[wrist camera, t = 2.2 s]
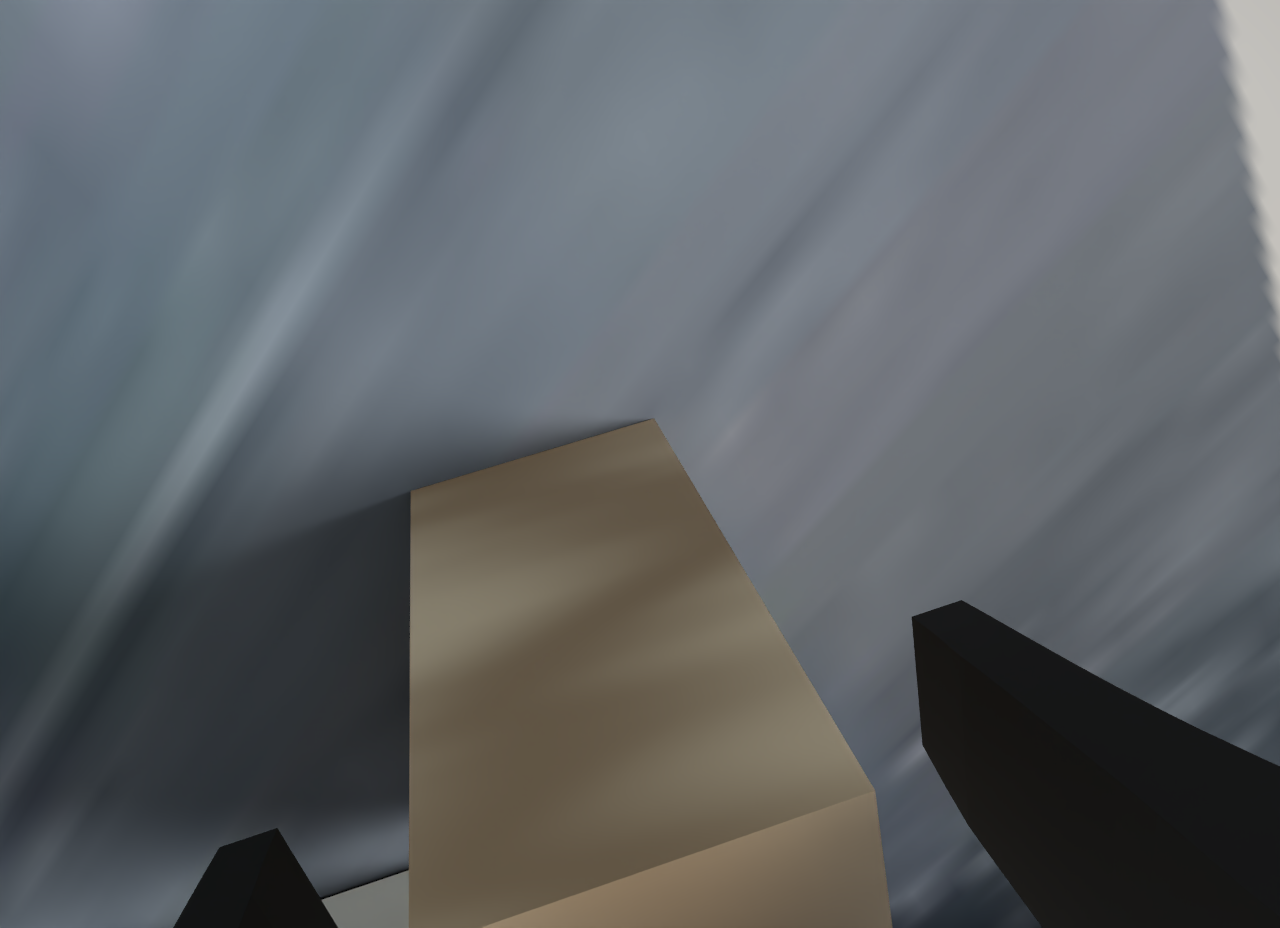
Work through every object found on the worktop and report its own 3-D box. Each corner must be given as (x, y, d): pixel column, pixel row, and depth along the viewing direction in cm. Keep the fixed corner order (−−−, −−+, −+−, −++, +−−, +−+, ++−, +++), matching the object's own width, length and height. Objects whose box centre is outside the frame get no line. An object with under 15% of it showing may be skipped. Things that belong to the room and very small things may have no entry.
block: (653, 418, 12) (874, 790, 6) (724, 723, 14) (924, 1180, 9) (410, 490, 11) (409, 953, 6) (528, 789, 14) (606, 1307, 8)
